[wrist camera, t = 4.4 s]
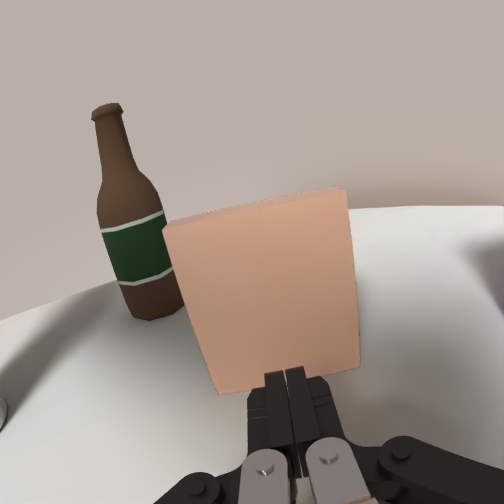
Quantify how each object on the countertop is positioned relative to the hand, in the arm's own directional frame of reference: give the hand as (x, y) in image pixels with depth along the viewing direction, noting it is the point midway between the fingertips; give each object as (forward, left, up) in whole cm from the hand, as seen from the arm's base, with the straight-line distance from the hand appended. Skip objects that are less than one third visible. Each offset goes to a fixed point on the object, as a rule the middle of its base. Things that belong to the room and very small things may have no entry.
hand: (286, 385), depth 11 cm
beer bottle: (-17, +21, -7) cm, 28 cm away
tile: (-1, +8, -7) cm, 11 cm away
